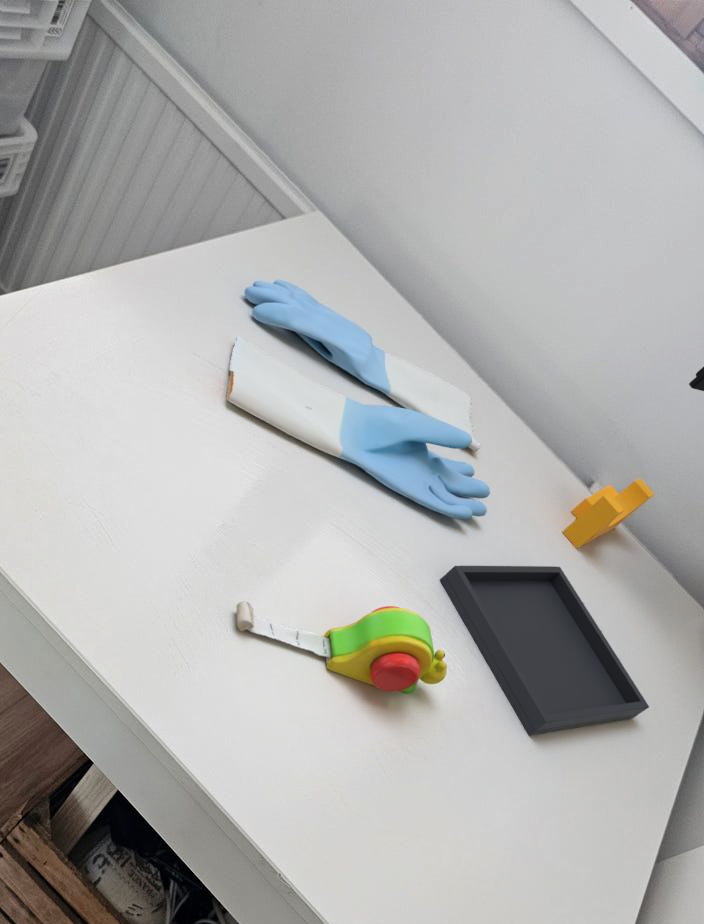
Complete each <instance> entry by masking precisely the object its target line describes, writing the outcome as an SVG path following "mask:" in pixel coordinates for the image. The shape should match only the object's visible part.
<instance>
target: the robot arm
mask: <svg viewBox="0 0 704 924" xmlns="http://www.w3.org/2000/svg"><path fill="white" fill-rule="evenodd" d="M688 385H689V387H690V388H691V389H694V390H696V391H701V392H704V366H703V367H702V368H700V369H699V370H698V371H697V372H696V373H695V377H694V378H693V379H692V380H691V381H690V382H689V384H688Z"/></svg>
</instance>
